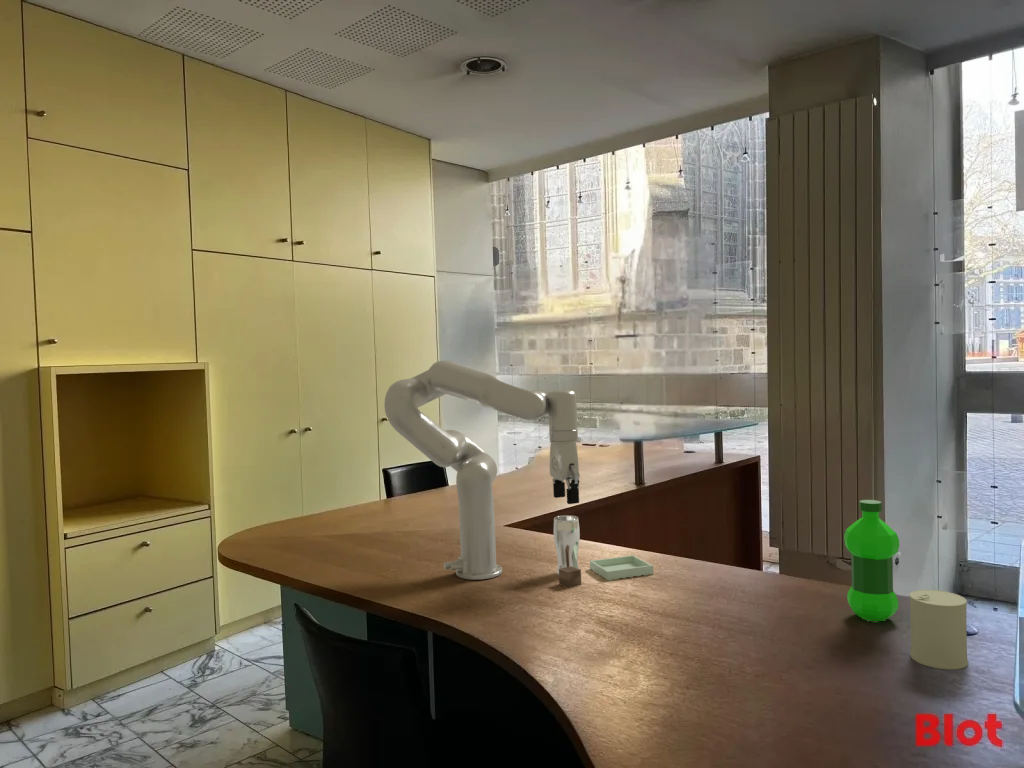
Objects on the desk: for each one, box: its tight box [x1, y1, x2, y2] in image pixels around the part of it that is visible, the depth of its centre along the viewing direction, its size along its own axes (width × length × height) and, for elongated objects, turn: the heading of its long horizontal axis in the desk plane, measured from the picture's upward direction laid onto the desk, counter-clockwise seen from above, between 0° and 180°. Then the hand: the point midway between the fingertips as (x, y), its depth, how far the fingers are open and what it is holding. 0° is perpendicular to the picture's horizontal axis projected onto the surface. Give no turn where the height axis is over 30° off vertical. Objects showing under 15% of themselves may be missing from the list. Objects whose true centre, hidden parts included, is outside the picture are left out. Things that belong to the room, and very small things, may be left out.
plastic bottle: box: [843, 499, 900, 622], centre depth 156 cm, size 10×10×25 cm
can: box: [909, 589, 969, 671], centre depth 135 cm, size 9×9×12 cm
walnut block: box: [558, 566, 582, 589], centre depth 187 cm, size 4×4×4 cm
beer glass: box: [553, 514, 581, 576], centre depth 196 cm, size 7×7×15 cm
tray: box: [589, 554, 654, 581], centre depth 196 cm, size 13×11×2 cm
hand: (566, 500), depth 196 cm, fingers open, 9 cm apart
